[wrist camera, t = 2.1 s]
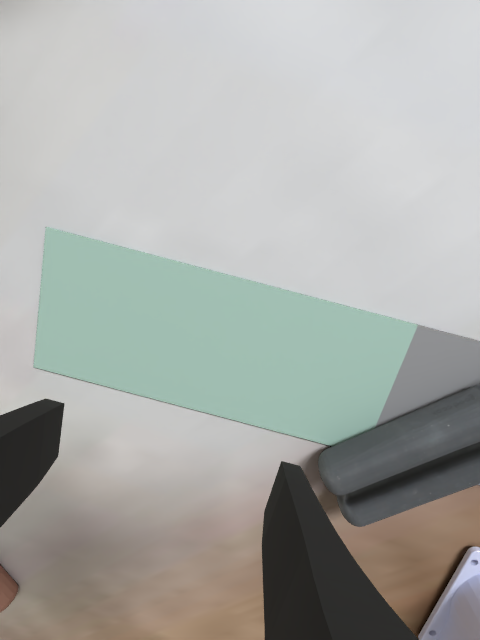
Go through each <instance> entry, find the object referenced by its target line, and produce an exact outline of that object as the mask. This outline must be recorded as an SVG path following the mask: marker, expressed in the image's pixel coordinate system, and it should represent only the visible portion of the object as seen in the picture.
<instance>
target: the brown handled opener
mask: <svg viewBox="0 0 480 640" xmlns="http://www.w3.org/2000/svg"><path fill="white" fill-rule="evenodd" d="M17 592H18V585H17V583H16V582H15V581H14V580H13V579H12V577H11V576H10V575H9V574H8V573H7V572H6V571H5V570H4V568H3V567H2V566H1V565H0V612H2V611H3V610H4V609H6V608H7V607H8V606H9V605H10V604H11V602H12V601H13V600H14V598H15V596H16V594H17Z"/></svg>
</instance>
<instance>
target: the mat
mask: <svg viewBox="0 0 480 640" xmlns="http://www.w3.org/2000/svg"><path fill="white" fill-rule="evenodd" d="M34 367H35V368H39V369H42V370H46V371H50V372H54V373H57V374H61V375H65V376H69V377H73V378H76V379H80V380H84V381H88V382H91V383H95V384H99V385H103V386H106V387H110V388H114V389H118V390H122V391H125V392H129V393H133V394H137V395H140V396H144V397H148V398H152V399H156V400H159V401H163V402H167V403H171V404H174V405H178V406H182V407H186V408H190V409H193V410H197V411H201V412H205V413H208V414H212V415H216V416H220V417H224V418H227V419H231V420H235V421H239V422H242V423H246V424H250V425H254V426H258V427H261V428H265V429H269V430H273V431H276V432H280V433H284V434H288V435H291V436H295V437H299V438H303V439H307V440H310V441H314V442H318V443H322V444H325V445H329V446H335V445H337V444H339V443H342V442H344V441H346V440H349V439H351V438H353V437H356V436H358V435H360V434H363V433H365V432H367V431H370V430H372V429H374V428H377V427H379V426H381V425H384V424H386V423H388V422H391V421H393V420H395V419H397V418H400V417H402V416H404V415H407V414H409V413H411V412H414V411H416V410H418V409H421V408H423V407H425V406H428V405H430V404H433V403H435V402H437V401H440V400H442V399H444V398H447V397H449V396H451V395H454V394H456V393H459V392H461V391H463V390H466V389H468V388H470V387H473V386H475V385H478V384H480V341H477V340H473V339H470V338H466V337H462V336H458V335H454V334H451V333H447V332H443V331H439V330H435V329H432V328H428V327H424V326H420V325H416V324H413V323H409V322H405V321H401V320H397V319H394V318H390V317H386V316H382V315H379V314H375V313H371V312H367V311H363V310H360V309H356V308H352V307H348V306H344V305H341V304H337V303H333V302H329V301H325V300H322V299H318V298H314V297H310V296H306V295H303V294H299V293H295V292H291V291H287V290H284V289H280V288H276V287H272V286H269V285H265V284H261V283H257V282H253V281H250V280H246V279H242V278H238V277H234V276H231V275H227V274H223V273H219V272H215V271H212V270H208V269H204V268H200V267H196V266H193V265H189V264H185V263H181V262H177V261H174V260H170V259H166V258H162V257H159V256H155V255H151V254H147V253H143V252H140V251H136V250H132V249H128V248H124V247H121V246H117V245H113V244H109V243H105V242H102V241H98V240H94V239H90V238H86V237H83V236H79V235H75V234H71V233H67V232H64V231H60V230H56V229H52V228H49V227H46V231H45V243H44V254H43V265H42V277H41V288H40V300H39V311H38V323H37V334H36V345H35V357H34ZM478 485H480V484H478Z"/></svg>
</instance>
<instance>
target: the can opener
mask: <svg viewBox="0 0 480 640" xmlns="http://www.w3.org/2000/svg"><path fill="white" fill-rule="evenodd" d="M318 467H319V472H320V476H321V479H322V481H323V482H324V484H325V486H326V487H327V489H328V490H329V491H330V492H332V493H333V494H335V495H336V496H337V501H338V505H339V508H340V510H341V513H342V514H343V516H344V518H345V519H346V520H347V521H348V522H349V523H351V524H352V525H354V526H357V527H362V526H366V525H368V524H371V523H374V522H377V521H379V520H382V519H385V518H387V517H390V516H393V515H396V514H398V513H401V512H404V511H406V510H409V509H412V508H414V507H417V506H420V505H422V504H425V503H428V502H430V501H433V500H436V499H439V498H442V497H444V496H447V495H450V494H453V493H455V492H458V491H461V490H464V489H466V488H469V487H472V486H475V485H478V484H480V384H478V385H475V386H473V387H470V388H468V389H466V390H463V391H461V392H459V393H456V394H454V395H451V396H449V397H447V398H444V399H442V400H440V401H437V402H435V403H433V404H430V405H428V406H425V407H423V408H421V409H418V410H416V411H414V412H411V413H409V414H407V415H404V416H402V417H400V418H397V419H395V420H393V421H391V422H388V423H386V424H384V425H381V426H379V427H377V428H374V429H372V430H370V431H367V432H365V433H363V434H360V435H358V436H356V437H353V438H351V439H349V440H346V441H344V442H342V443H339V444H337V445H335V446H332V447H330V448H328V449H326V450H324V451H323V452H322V453H321V454H320V456H319V460H318Z"/></svg>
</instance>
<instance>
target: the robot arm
mask: <svg viewBox="0 0 480 640" xmlns="http://www.w3.org/2000/svg"><path fill="white" fill-rule="evenodd" d="M63 411H64V403H60V402H56V401H53V400H49V399H44V400H41V401H38V402H35V403H32V404H29V405H27V406H24V407H21V408H19V409H16V410H14V411H11V412H8V413H6V414H3V415H0V527H1V526H2V525H3V524H4V523H5V522H6V521H7V519H8V518H9V517H10V516H11V515H12V514H13V513H14V512H15V510H16V509H17V508H18V507H19V506H20V505H21V504H22V503H23V501H24V500H25V499H26V498H27V497H28V496H29V495H30V494H31V492H32V491H33V490H34V489H35V488H36V487H37V485H38V484H39V483H40V481H41V480H42V479H43V477H44V476H45V474H46V473H47V472H48V470H49V469H50V467H51V466H52V464H53V463H54V461H55V460H56V458H57V457H58V452H59V444H60V436H61V427H62V419H63ZM262 563H263V593H264V621H265V640H480V547H471V548H469V549H468V550H467V552H466V554H465V555H464V557H463V559H462V561H461V562H460V564H459V566H458V568H457V569H456V571H455V573H454V575H453V576H452V578H451V580H450V581H449V583H448V585H447V587H446V588H445V590H444V592H443V594H442V595H441V597H440V599H439V601H438V602H437V604H436V606H435V608H434V609H433V611H432V613H431V615H430V616H429V618H428V620H427V621H426V623H425V625H424V627H423V628H422V630H421V632H420V634H419V636H418V638H419V639H418V638H417V637H416V636H415V635H414V634H413V633H412V632H411V630H410V629H409V628H408V627H407V626H406V625H405V623H404V622H403V621H402V620H401V619H400V618H399V616H398V615H397V614H396V613H395V612H394V610H393V609H392V608H391V607H390V606H389V605H388V603H387V602H386V601H385V600H384V598H383V597H382V596H381V595H380V593H379V592H378V591H377V589H376V588H375V587H374V585H373V584H372V583H371V581H370V580H369V579H368V577H367V576H366V575H365V573H364V572H363V571H362V569H361V568H360V567H359V565H358V564H357V562H356V561H355V560H354V558H353V557H352V555H351V554H350V552H349V551H348V549H347V548H346V546H345V544H344V543H343V541H342V540H341V538H340V537H339V535H338V534H337V532H336V530H335V529H334V527H333V525H332V524H331V522H330V520H329V518H328V517H327V515H326V513H325V512H324V510H323V508H322V506H321V504H320V503H319V501H318V499H317V497H316V495H315V493H314V491H313V490H312V488H311V486H310V484H309V482H308V480H307V478H306V476H305V474H304V472H303V471H302V469H301V467H300V466H298V465H294V464H290V463H287V462H283V461H281V464H280V467H279V470H278V473H277V476H276V479H275V482H274V485H273V488H272V491H271V494H270V496H269V499H268V502H267V505H266V508H265V512H264V524H263V537H262Z"/></svg>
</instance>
